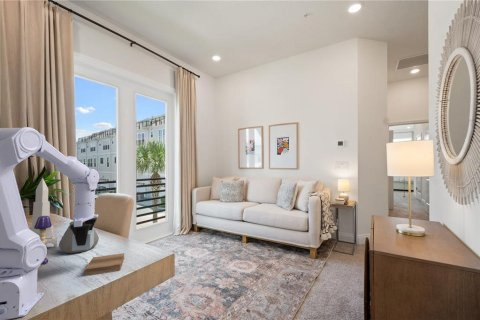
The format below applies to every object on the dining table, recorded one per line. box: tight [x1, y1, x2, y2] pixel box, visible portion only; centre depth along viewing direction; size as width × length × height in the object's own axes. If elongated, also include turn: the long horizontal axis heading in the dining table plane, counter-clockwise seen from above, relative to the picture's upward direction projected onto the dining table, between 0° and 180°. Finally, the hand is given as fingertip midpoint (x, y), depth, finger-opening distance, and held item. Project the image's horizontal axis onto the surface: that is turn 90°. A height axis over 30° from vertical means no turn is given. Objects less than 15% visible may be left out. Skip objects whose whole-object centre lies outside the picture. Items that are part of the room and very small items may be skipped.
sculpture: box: [28, 177, 58, 248], centre depth 91 cm, size 7×8×30 cm
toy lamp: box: [34, 216, 53, 266], centre depth 78 cm, size 5×5×17 cm
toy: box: [58, 220, 100, 254], centre depth 92 cm, size 15×14×15 cm
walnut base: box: [84, 252, 125, 277], centre depth 75 cm, size 10×10×2 cm
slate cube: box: [72, 230, 94, 251], centre depth 75 cm, size 5×5×5 cm
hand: (83, 242), depth 75 cm, fingers closed on slate cube, 5 cm apart
